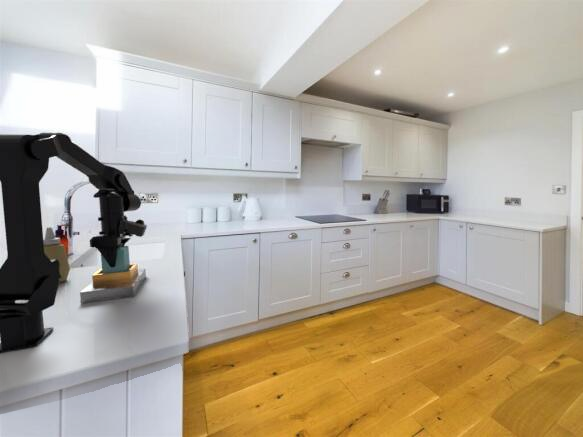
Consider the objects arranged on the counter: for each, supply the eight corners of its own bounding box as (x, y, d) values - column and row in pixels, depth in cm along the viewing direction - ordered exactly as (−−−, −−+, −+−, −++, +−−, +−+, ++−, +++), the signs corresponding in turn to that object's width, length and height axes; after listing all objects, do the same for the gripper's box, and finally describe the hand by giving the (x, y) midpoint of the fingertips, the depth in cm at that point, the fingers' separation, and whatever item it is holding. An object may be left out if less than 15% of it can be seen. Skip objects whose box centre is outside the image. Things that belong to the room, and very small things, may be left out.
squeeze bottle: (50, 287, 76) (44, 229, 75) (30, 285, 78) (23, 229, 76) (77, 278, 84) (72, 226, 83) (58, 277, 86) (53, 225, 84)
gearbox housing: (133, 296, 69) (132, 275, 69) (81, 303, 65) (79, 281, 65) (146, 275, 87) (145, 258, 87) (105, 279, 83) (104, 262, 82)
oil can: (125, 275, 74) (123, 240, 73) (102, 278, 72) (99, 242, 71) (130, 270, 79) (127, 237, 78) (109, 272, 77) (106, 238, 76)
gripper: (136, 214, 68) (140, 270, 69) (148, 210, 85) (151, 255, 86) (86, 215, 64) (91, 274, 65) (110, 211, 81) (113, 258, 82)
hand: (116, 264), depth 75 cm, fingers closed on oil can, 6 cm apart
